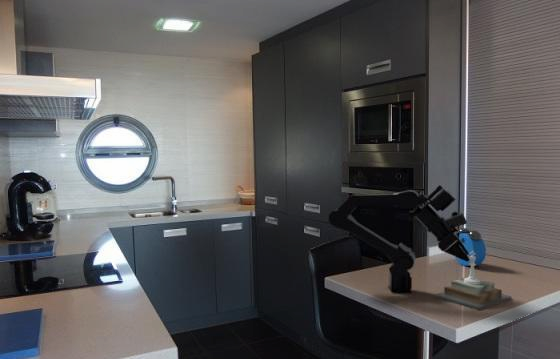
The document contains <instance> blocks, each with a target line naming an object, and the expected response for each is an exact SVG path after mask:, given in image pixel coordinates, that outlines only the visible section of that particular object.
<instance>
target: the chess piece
mask: <svg viewBox="0 0 560 359" xmlns="http://www.w3.org/2000/svg"><path fill="white" fill-rule="evenodd" d="M470 254H471V256H469V259H470V262H471V263H469V265H471V266H470V270H469V276H467V277H469V278H466V277H464V278H465V279H464V282H465V283H468V284H480V283H481V282H480V280H481V279H480V278H477V277H476V274H475V266H477V265H476V264H474V262H475V259H476V257H475V256H474V255H475V253H474V251H472V252H470Z"/></svg>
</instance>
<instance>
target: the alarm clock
mask: <svg viewBox="0 0 560 359" xmlns="http://www.w3.org/2000/svg"><path fill="white" fill-rule="evenodd" d="M458 231H459V239H460V240H461V242H462V243H463V245H464V247H465V248H466V250H467V251H468V253H469V254H468V255H467V256H468V258H469V256H471V254H470V252H472V251H474V253H475V255H474V256H475V257H476V259H475V262H474V264H476V266H477V267H478V268H480V265H481V264H482V263H483V262H484V261H485V259H486V256H487V248H486V244H485V242H484V240H483V238H482V234H481V233H480V231H478V230H470V229H469V228H466V227H465V228H464V227H461V228H460V229H458ZM458 231H457V232H458ZM455 259H456V261H457V262H458V263H459V264H460V265H462V266H463V267H469V266H470V267H471V265H469V263H471V262H470V260H469V261H468V262H466V261H464V260H462V259H460V258H458V257H455Z"/></svg>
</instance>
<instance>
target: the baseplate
mask: <svg viewBox="0 0 560 359" xmlns="http://www.w3.org/2000/svg"><path fill="white" fill-rule="evenodd" d="M433 295H434V298H436V299H439V300H444V301H446V302H449V303H452V304H453V303H454V304H456V305H459V306H463V307H466V308H469V307H470V308H469V309H472V308H473V310H476V311H480V310H483V309H486V308H489V307H491V306H494V305H498V304H500V303H503V302H507V301H510V300H512V296H511V295H508V294H505V293H502V296H501V297H500V298H497V299H494V300H491V301H488V302H485V303H482V304H477V303H474V302H470V301H467V300H463V299H460V298H456V297H453V296H450V295H446V294H444V291H442V292H438V293H435V294H433Z"/></svg>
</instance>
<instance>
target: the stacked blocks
mask: <svg viewBox="0 0 560 359" xmlns="http://www.w3.org/2000/svg"><path fill="white" fill-rule="evenodd" d="M465 278H469V277H468V276H467V277H462V278H459V279H456V280H451V284H450V285H448V286H444V287H443V289H444V290H443V292H444V294H446V295H450V296H453V297H456V298H460V299H463V300H467V301H470V302H474V303H477V304H482V303H485V302H488V301H491V300H494V299H497V298H500V297H501V296H502V294H503V293H502V289H499V288H496V287H495V283H494V282H490V281H487V280H482V279H479V280H480V282H481V283H480V284H468V283H465V282H464V279H465Z"/></svg>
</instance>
